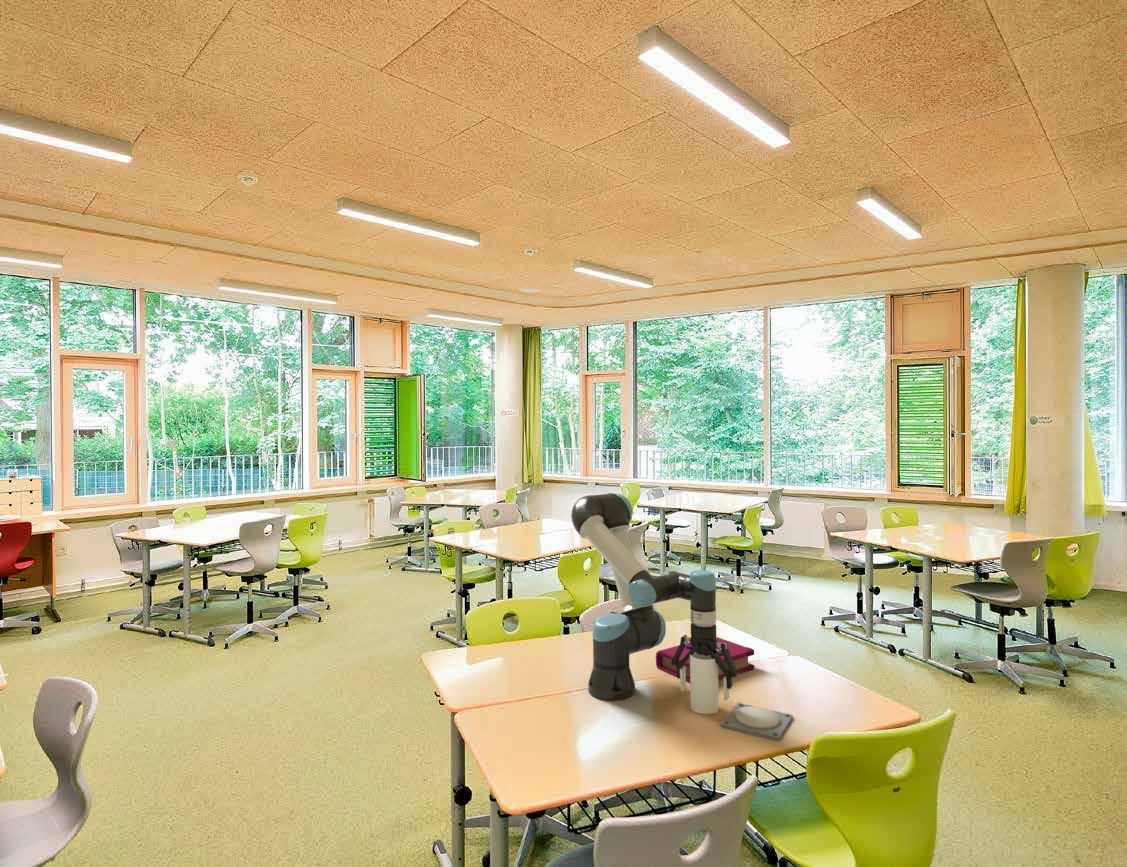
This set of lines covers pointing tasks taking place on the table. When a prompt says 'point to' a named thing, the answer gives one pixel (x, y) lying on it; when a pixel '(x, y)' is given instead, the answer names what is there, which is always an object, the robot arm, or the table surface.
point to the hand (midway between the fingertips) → (704, 694)
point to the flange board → (757, 721)
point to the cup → (703, 684)
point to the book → (735, 650)
